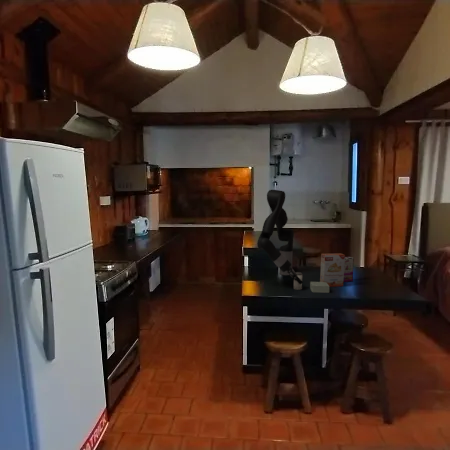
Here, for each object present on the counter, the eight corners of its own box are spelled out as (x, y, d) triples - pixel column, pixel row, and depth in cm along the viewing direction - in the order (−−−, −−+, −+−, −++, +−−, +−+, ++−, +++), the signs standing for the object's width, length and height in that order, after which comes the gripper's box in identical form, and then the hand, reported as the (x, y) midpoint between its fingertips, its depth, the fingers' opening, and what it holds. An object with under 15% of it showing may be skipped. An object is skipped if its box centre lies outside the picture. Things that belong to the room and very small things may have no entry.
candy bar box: (348, 279, 267) (349, 256, 265) (353, 281, 262) (354, 257, 261) (334, 281, 263) (335, 257, 261) (339, 282, 258) (340, 258, 257)
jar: (293, 287, 245) (293, 271, 244) (301, 287, 244) (301, 272, 243) (293, 289, 240) (294, 273, 239) (302, 289, 239) (303, 274, 238)
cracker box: (323, 287, 246) (324, 255, 244) (319, 285, 252) (320, 253, 250) (343, 286, 249) (345, 254, 247) (339, 284, 255) (340, 252, 253)
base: (309, 287, 244) (310, 281, 244) (325, 288, 244) (326, 282, 243) (312, 292, 235) (312, 285, 234) (329, 292, 234) (329, 286, 233)
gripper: (287, 261, 233) (307, 281, 234) (285, 256, 248) (303, 275, 248) (278, 269, 234) (297, 289, 235) (277, 264, 249) (295, 283, 249)
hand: (300, 282), depth 241 cm, fingers closed on jar, 5 cm apart
